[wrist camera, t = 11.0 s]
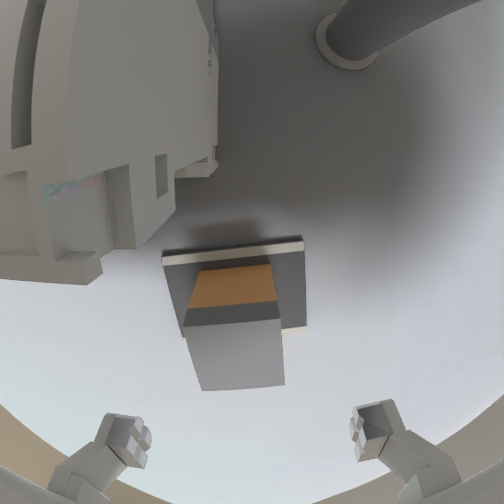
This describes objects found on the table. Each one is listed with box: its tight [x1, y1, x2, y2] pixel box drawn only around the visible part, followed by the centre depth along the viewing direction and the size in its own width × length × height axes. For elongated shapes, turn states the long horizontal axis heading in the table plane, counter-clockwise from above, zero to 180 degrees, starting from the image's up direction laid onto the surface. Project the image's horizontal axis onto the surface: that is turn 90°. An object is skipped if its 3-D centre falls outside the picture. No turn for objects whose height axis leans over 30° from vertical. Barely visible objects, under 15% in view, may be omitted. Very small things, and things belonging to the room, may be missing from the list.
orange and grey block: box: [182, 264, 285, 391], centre depth 17 cm, size 4×4×6 cm
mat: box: [161, 239, 307, 344], centre depth 20 cm, size 9×7×1 cm
